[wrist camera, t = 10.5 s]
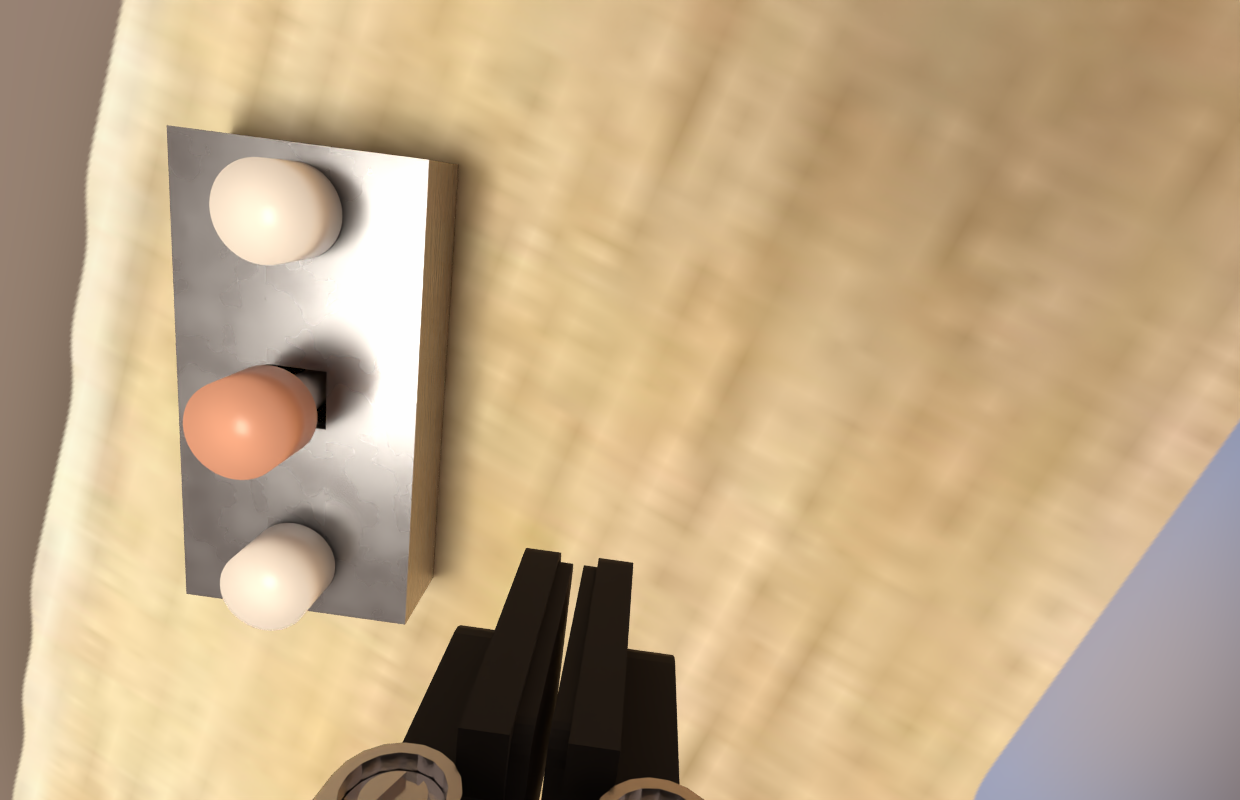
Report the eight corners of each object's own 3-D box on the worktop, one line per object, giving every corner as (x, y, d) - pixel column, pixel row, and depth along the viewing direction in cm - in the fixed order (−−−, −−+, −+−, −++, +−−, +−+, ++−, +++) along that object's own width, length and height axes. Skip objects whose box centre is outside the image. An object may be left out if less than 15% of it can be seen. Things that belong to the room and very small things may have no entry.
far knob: (298, 481, 42) (218, 543, 35) (372, 491, 42) (309, 556, 35) (298, 548, 44) (220, 623, 36) (370, 558, 44) (308, 636, 36)
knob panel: (229, 134, 38) (166, 125, 33) (458, 164, 37) (428, 159, 33) (238, 550, 44) (186, 593, 39) (432, 577, 44) (405, 624, 39)
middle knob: (278, 338, 38) (180, 374, 30) (361, 349, 38) (285, 388, 30) (278, 418, 39) (184, 472, 31) (359, 429, 39) (285, 486, 31)
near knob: (300, 160, 38) (207, 150, 30) (383, 171, 37) (313, 164, 30) (299, 246, 39) (210, 257, 31) (380, 256, 39) (312, 271, 31)
